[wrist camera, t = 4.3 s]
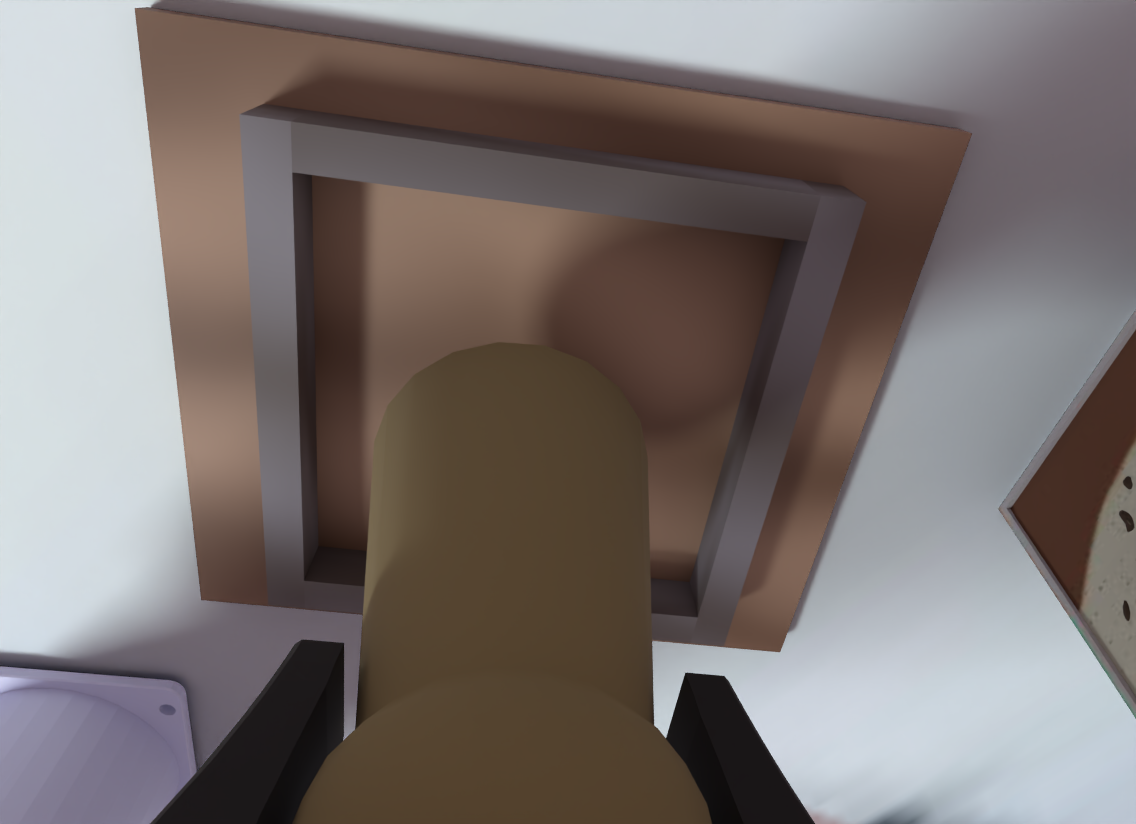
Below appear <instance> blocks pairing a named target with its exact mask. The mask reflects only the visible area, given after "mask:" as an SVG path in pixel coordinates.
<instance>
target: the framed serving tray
mask: <svg viewBox="0 0 1136 824" xmlns="http://www.w3.org/2000/svg"><path fill="white" fill-rule="evenodd" d="M135 15H136V24H137V32H138V41H139V50H140V59H141V68H142V77H143V86H144V95H145V104H146V112H147V121H148V130H149V139H150V148H151V157H152V166H153V175H154V184H155V192H156V201H157V210H158V219H159V228H160V237H161V246H162V255H163V264H164V272H165V281H166V290H167V299H168V308H169V317H170V326H171V335H172V344H173V352H174V361H175V370H176V379H177V388H178V397H179V406H180V415H181V424H182V432H183V441H184V450H185V459H186V468H187V477H188V486H189V495H190V504H191V512H192V521H193V530H194V539H195V548H196V557H197V566H198V575H199V584H200V592H201V600H207V601H218V602H229V603H240V604H252V605H263V606H274V607H285V608H296V609H307V610H318V611H329V612H340V613H351V614H362V615H363V605H364V589H365V574H366V559H367V543H368V528H369V513H370V497H371V482H372V467H373V451H374V440H375V438H376V435H377V432H378V430H379V427H380V424H381V422H382V419H383V416H384V413H385V411H386V408H387V405H388V404H389V403H390V402H391V401H392V400H393V398H394V397H395V396H396V395H397V394H398V393H399V392H400V390H401V389H402V388H403V387H404V386H405V385H406V384H407V382H408V381H409V380H410V379H411V378H412V377H413V376H414V374H416V373H418V372H419V371H421V370H423V369H424V368H426V367H428V366H430V365H431V364H433V363H435V362H437V361H438V360H440V359H442V358H444V357H445V356H447V355H449V354H451V353H452V352H456V351H460V350H465V349H469V348H474V347H478V346H483V345H487V344H492V343H496V342H504V343H519V344H533V345H545V346H548V347H550V348H553V349H555V350H558V351H561V352H563V353H566V354H569V355H571V356H574V357H576V358H579V359H582V360H584V361H587V362H588V363H589V364H591V365H592V366H593V367H594V368H596V369H597V370H598V371H599V372H601V373H602V374H603V375H604V376H606V377H607V378H608V379H609V380H611V381H612V382H613V383H614V384H616V385H617V386H618V387H619V388H620V389H621V391H622V392H623V394H624V395H625V397H626V399H627V400H628V402H629V403H630V405H631V407H632V408H633V410H634V411H635V413H636V415H637V416H638V418H639V419H640V421H641V426H642V431H643V436H644V441H645V446H646V451H647V456H648V491H649V533H650V576H651V619H652V641H662V642H673V643H684V644H695V645H706V646H717V647H728V648H740V649H751V650H762V651H773V652H780V651H781V648H782V646H783V643H784V640H785V638H786V635H787V632H788V629H789V627H790V624H791V621H792V619H793V616H794V613H795V611H796V608H797V605H798V602H799V600H800V597H801V594H802V592H803V589H804V586H805V584H806V581H807V578H808V575H809V573H810V570H811V567H812V565H813V562H814V559H815V557H816V554H817V551H818V548H819V546H820V543H821V540H822V538H823V535H824V532H825V530H826V527H827V524H828V521H829V519H830V516H831V513H832V511H833V508H834V505H835V503H836V500H837V497H838V494H839V492H840V489H841V486H842V484H843V481H844V478H845V475H846V473H847V470H848V467H849V465H850V462H851V459H852V457H853V454H854V451H855V448H856V446H857V443H858V440H859V438H860V435H861V432H862V430H863V427H864V424H865V421H866V419H867V416H868V413H869V411H870V408H871V405H872V403H873V400H874V397H875V394H876V392H877V389H878V386H879V384H880V381H881V378H882V376H883V373H884V370H885V367H886V365H887V362H888V359H889V357H890V354H891V351H892V349H893V346H894V343H895V340H896V338H897V335H898V332H899V330H900V327H901V324H902V322H903V319H904V316H905V313H906V311H907V308H908V305H909V303H910V300H911V297H912V295H913V292H914V289H915V286H916V284H917V281H918V278H919V276H920V273H921V270H922V268H923V265H924V262H925V259H926V257H927V254H928V251H929V249H930V246H931V243H932V241H933V238H934V235H935V232H936V230H937V227H938V224H939V222H940V219H941V216H942V214H943V211H944V208H945V205H946V203H947V200H948V197H949V195H950V192H951V189H952V187H953V184H954V181H955V178H956V176H957V173H958V170H959V168H960V165H961V162H962V159H963V157H964V154H965V151H966V149H967V146H968V143H969V141H970V138H971V135H972V133H970V132H967V131H964V130H961V129H957V128H950V127H944V126H937V125H930V124H924V123H917V122H910V121H904V120H897V119H890V118H884V117H877V116H870V115H864V114H857V113H850V112H844V111H837V110H830V109H824V108H817V107H810V106H804V105H797V104H790V103H783V102H777V101H770V100H763V99H757V98H750V97H743V96H737V95H730V94H723V93H717V92H710V91H703V90H697V89H690V88H683V87H677V86H670V85H663V84H657V83H650V82H643V81H637V80H630V79H623V78H617V77H610V76H603V75H597V74H590V73H583V72H577V71H570V70H563V69H556V68H550V67H543V66H536V65H530V64H523V63H516V62H510V61H503V60H496V59H490V58H483V57H476V56H470V55H463V54H456V53H450V52H443V51H436V50H430V49H423V48H416V47H410V46H403V45H396V44H390V43H383V42H376V41H370V40H363V39H356V38H350V37H343V36H336V35H329V34H323V33H316V32H309V31H303V30H296V29H289V28H283V27H276V26H269V25H263V24H256V23H249V22H243V21H236V20H229V19H223V18H216V17H209V16H203V15H196V14H189V13H183V12H176V11H169V10H163V9H156V8H149V7H146V8H135Z"/></svg>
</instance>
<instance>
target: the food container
mask: <svg viewBox="0 0 1136 824" xmlns="http://www.w3.org/2000/svg"><path fill="white" fill-rule="evenodd" d="M999 510H1000V512H1001V514H1002V515H1003V517H1004V518H1005V520H1006V521H1007V523H1008V524H1009V526H1010V527H1011V529H1012V530H1013V532H1014V533H1015V535H1016V536H1017V538H1018V539H1019V541H1020V542H1021V544H1022V546H1023V547H1024V549H1025V550H1026V552H1027V553H1028V555H1029V556H1030V558H1031V559H1032V561H1033V562H1034V564H1035V565H1036V567H1037V568H1038V570H1039V571H1040V573H1041V575H1042V576H1043V578H1044V579H1045V581H1046V582H1047V584H1048V585H1049V587H1050V588H1051V590H1052V591H1053V593H1054V594H1055V596H1056V597H1057V599H1058V600H1059V602H1060V603H1061V605H1062V607H1063V608H1064V610H1065V611H1066V613H1067V614H1068V616H1069V617H1070V619H1071V620H1072V622H1073V623H1074V625H1075V626H1076V628H1077V629H1078V631H1079V632H1080V634H1081V636H1082V637H1083V639H1084V640H1085V642H1086V643H1087V645H1088V646H1089V648H1090V649H1091V651H1092V652H1093V654H1094V655H1095V657H1096V658H1097V660H1098V661H1099V663H1100V665H1101V666H1102V668H1103V669H1104V671H1105V672H1106V674H1107V675H1108V677H1109V678H1110V680H1111V681H1112V683H1113V684H1114V686H1115V687H1116V689H1117V690H1118V692H1119V693H1120V695H1121V697H1122V698H1123V700H1124V701H1125V703H1126V704H1127V706H1128V707H1129V709H1130V710H1131V712H1132V713H1133V715H1134V716H1135V718H1136V310H1135V312H1134V313H1133V315H1132V316H1131V318H1130V319H1129V320H1128V322H1127V323H1126V325H1125V326H1124V328H1123V329H1122V331H1121V332H1120V334H1119V335H1118V336H1117V338H1116V339H1115V341H1114V342H1113V344H1112V345H1111V347H1110V348H1109V349H1108V351H1107V352H1106V354H1105V355H1104V357H1103V358H1102V360H1101V361H1100V362H1099V364H1098V365H1097V367H1096V368H1095V370H1094V371H1093V373H1092V374H1091V375H1090V377H1089V378H1088V380H1087V381H1086V383H1085V384H1084V386H1083V387H1082V389H1081V390H1080V391H1079V393H1078V394H1077V396H1076V397H1075V399H1074V400H1073V402H1072V403H1071V404H1070V406H1069V407H1068V409H1067V410H1066V412H1065V413H1064V415H1063V416H1062V417H1061V419H1060V420H1059V422H1058V423H1057V425H1056V426H1055V428H1054V429H1053V431H1052V432H1051V433H1050V435H1049V436H1048V438H1047V439H1046V441H1045V442H1044V444H1043V445H1042V446H1041V448H1040V449H1039V451H1038V452H1037V454H1036V455H1035V457H1034V458H1033V459H1032V461H1031V462H1030V464H1029V465H1028V467H1027V468H1026V470H1025V471H1024V472H1023V474H1022V475H1021V477H1020V478H1019V480H1018V481H1017V483H1016V484H1015V486H1014V487H1013V488H1012V490H1011V491H1010V493H1009V494H1008V496H1007V497H1006V499H1005V500H1004V501H1003V503H1002V504H1001V506H1000V507H999Z"/></svg>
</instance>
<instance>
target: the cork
mask: <svg viewBox="0 0 1136 824" xmlns="http://www.w3.org/2000/svg"><path fill="white" fill-rule="evenodd" d="M292 824H712V822H711V818H710V814H709V810H708V806H707V803H706V801H705V799H704V798H703V796H702V794H701V792H700V790H699V788H698V786H697V784H696V782H695V780H694V779H693V777H692V775H691V773H690V771H689V769H688V767H687V765H686V763H685V762H684V761H683V760H682V758H681V757H680V756H679V755H678V753H677V752H676V751H675V750H674V748H673V747H672V746H671V745H670V743H669V742H668V741H667V740H666V738H665V737H664V736H663V735H662V733H661V732H660V731H659V730H658V728H656V727H655V726H654V704H653V661H652V619H651V576H650V533H649V491H648V456H647V451H646V446H645V441H644V436H643V431H642V426H641V421H640V419H639V418H638V416H637V415H636V413H635V411H634V410H633V408H632V407H631V405H630V403H629V402H628V400H627V399H626V397H625V395H624V394H623V392H622V391H621V389H620V388H619V387H618V386H617V385H616V384H614V383H613V382H612V381H611V380H609V379H608V378H607V377H606V376H604V375H603V374H602V373H601V372H599V371H598V370H597V369H596V368H594V367H593V366H592V365H591V364H589V363H588V362H587V361H584V360H582V359H579V358H576V357H574V356H571V355H569V354H566V353H563V352H561V351H558V350H555V349H553V348H550V347H548V346H545V345H533V344H519V343H504V342H496V343H492V344H487V345H483V346H478V347H474V348H469V349H465V350H460V351H456V352H452V353H451V354H449V355H447V356H445V357H444V358H442V359H440V360H438V361H437V362H435V363H433V364H431V365H430V366H428V367H426V368H424V369H423V370H421V371H419V372H418V373H416V374H414V376H413V377H412V378H411V379H410V380H409V381H408V382H407V384H406V385H405V386H404V387H403V388H402V389H401V390H400V392H399V393H398V394H397V395H396V396H395V397H394V398H393V400H392V401H391V402H390V403H389V404H388V405H387V408H386V411H385V413H384V416H383V419H382V422H381V424H380V427H379V430H378V432H377V435H376V438H375V440H374V451H373V467H372V482H371V497H370V513H369V528H368V543H367V559H366V574H365V589H364V605H363V620H362V635H361V651H360V666H359V681H358V697H357V712H356V727H355V730H354V731H353V732H352V733H351V734H350V735H349V736H348V737H347V738H346V739H345V740H344V741H343V742H341V743H340V744H339V745H338V746H337V747H336V748H335V749H334V750H333V751H332V752H331V753H330V754H329V755H328V756H327V757H326V759H325V760H324V762H323V764H322V766H321V767H320V769H319V771H318V773H317V774H316V776H315V778H314V780H313V781H312V783H311V785H310V786H309V788H308V790H307V792H306V793H305V795H304V797H303V799H302V801H301V804H300V806H299V808H298V811H297V813H296V815H295V818H294V820H293V822H292Z"/></svg>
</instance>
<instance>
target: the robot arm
mask: <svg viewBox="0 0 1136 824" xmlns="http://www.w3.org/2000/svg"><path fill="white" fill-rule="evenodd" d="M343 737H344V643H336V642H325V641H313V640H301V641H299V642H298V643H296V644H295V645H294V646H293V648H292V649H291V651H290V652H289V654H288V655H287V657H286V658H285V660H284V661H283V663H282V664H281V666H280V667H279V669H278V670H277V671H276V673H275V674H274V676H273V677H272V678H271V680H270V681H269V683H268V684H267V685H266V687H265V688H264V689H263V691H262V692H261V693H260V695H259V696H258V697H257V699H256V700H255V701H254V703H253V704H252V705H251V706H250V708H249V709H248V710H247V712H246V713H245V714H244V716H243V717H242V718H241V719H240V721H239V722H238V723H237V724H236V725H235V727H234V728H233V729H232V730H231V732H230V733H229V734H228V735H227V736H226V738H225V739H224V740H223V741H222V742H221V744H220V745H219V746H218V747H217V749H216V750H215V751H214V752H213V753H212V755H211V756H210V757H209V758H208V760H207V761H206V762H205V763H204V764H203V765H202V767H201V768H200V769H199V770H198V771H197V770H196V763H195V756H194V748H193V741H192V733H191V726H190V719H189V711H188V704H187V696H186V691H185V689H184V687H183V686H182V685H181V684H179V683H177V682H175V681H171V680H161V679H149V678H137V677H125V676H113V675H100V674H88V673H76V672H64V671H51V670H39V669H27V668H15V667H2V666H0V824H292V822H293V820H294V818H295V815H296V813H297V811H298V808H299V806H300V804H301V801H302V799H303V797H304V795H305V793H306V792H307V790H308V788H309V786H310V785H311V783H312V781H313V780H314V778H315V776H316V774H317V773H318V771H319V769H320V767H321V766H322V764H323V762H324V760H325V759H326V757H327V756H328V755H329V754H330V753H331V752H332V751H333V750H334V749H335V748H336V747H337V746H338V745H339V744H340V743H341V742H343ZM666 740H667V741H668V742H669V743H670V745H671V746H672V747H673V748H674V750H675V751H676V752H677V753H678V755H679V756H680V757H681V758H682V760H683V761H684V762H685V763H686V765H687V767H688V769H689V771H690V773H691V775H692V777H693V779H694V780H695V782H696V784H697V786H698V788H699V790H700V792H701V794H702V796H703V798H704V799H705V801H706V803H707V806H708V810H709V814H710V818H711V822H712V824H815V823H814V821H813V820H812V818H811V817H810V815H809V814H808V812H807V811H806V809H805V808H804V806H803V804H802V803H801V801H800V800H799V798H798V797H797V795H796V794H795V792H794V791H793V789H792V787H791V786H790V784H789V783H788V781H787V780H786V778H785V777H784V775H783V773H782V772H781V770H780V769H779V767H778V765H777V764H776V762H775V760H774V759H773V757H772V756H771V754H770V752H769V750H768V749H767V747H766V745H765V744H764V742H763V740H762V739H761V737H760V735H759V734H758V732H757V730H756V729H755V727H754V725H753V723H752V722H751V720H750V718H749V716H748V715H747V713H746V711H745V709H744V708H743V706H742V704H741V702H740V701H739V699H738V697H737V695H736V693H735V692H734V690H733V688H732V686H731V684H730V683H729V681H728V680H727V679H726V678H725V676H718V675H706V674H695V673H685V676H684V679H683V683H682V686H681V690H680V693H679V696H678V700H677V703H676V707H675V710H674V713H673V717H672V720H671V724H670V727H669V730H668V734H667V737H666Z"/></svg>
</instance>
